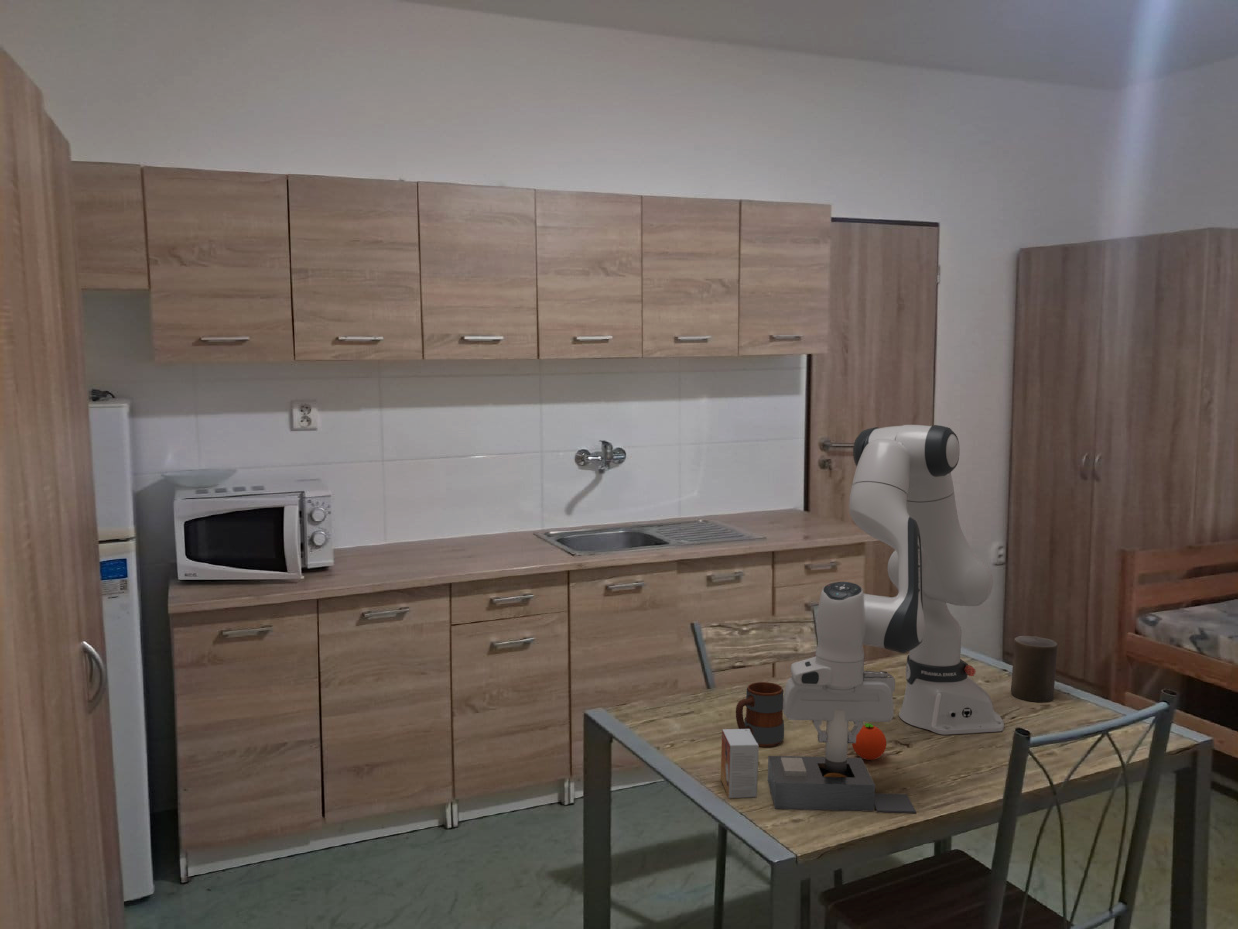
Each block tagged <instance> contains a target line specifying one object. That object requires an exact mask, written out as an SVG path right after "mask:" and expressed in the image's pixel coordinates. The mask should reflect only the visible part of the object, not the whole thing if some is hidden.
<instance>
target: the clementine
mask: <svg viewBox="0 0 1238 929" xmlns="http://www.w3.org/2000/svg"><path fill="white" fill-rule="evenodd" d="M851 745H852V749H853V751H854V752H855V753H856V754H857V756H859V758H862V760H868V761H874V760H877V759H879V758H881V757H882V756H883V755H884V753H885V751H886V749H887V738H886V736H885V734H884V732H883V730H881V729H880V728H878V727H877V726H875V725H873V724H871V723H867V722H866V723H865V722H864V725H863V727H862V728H861V730H860V731H859V733H858V734H857V735H856V743H851Z"/></svg>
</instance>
